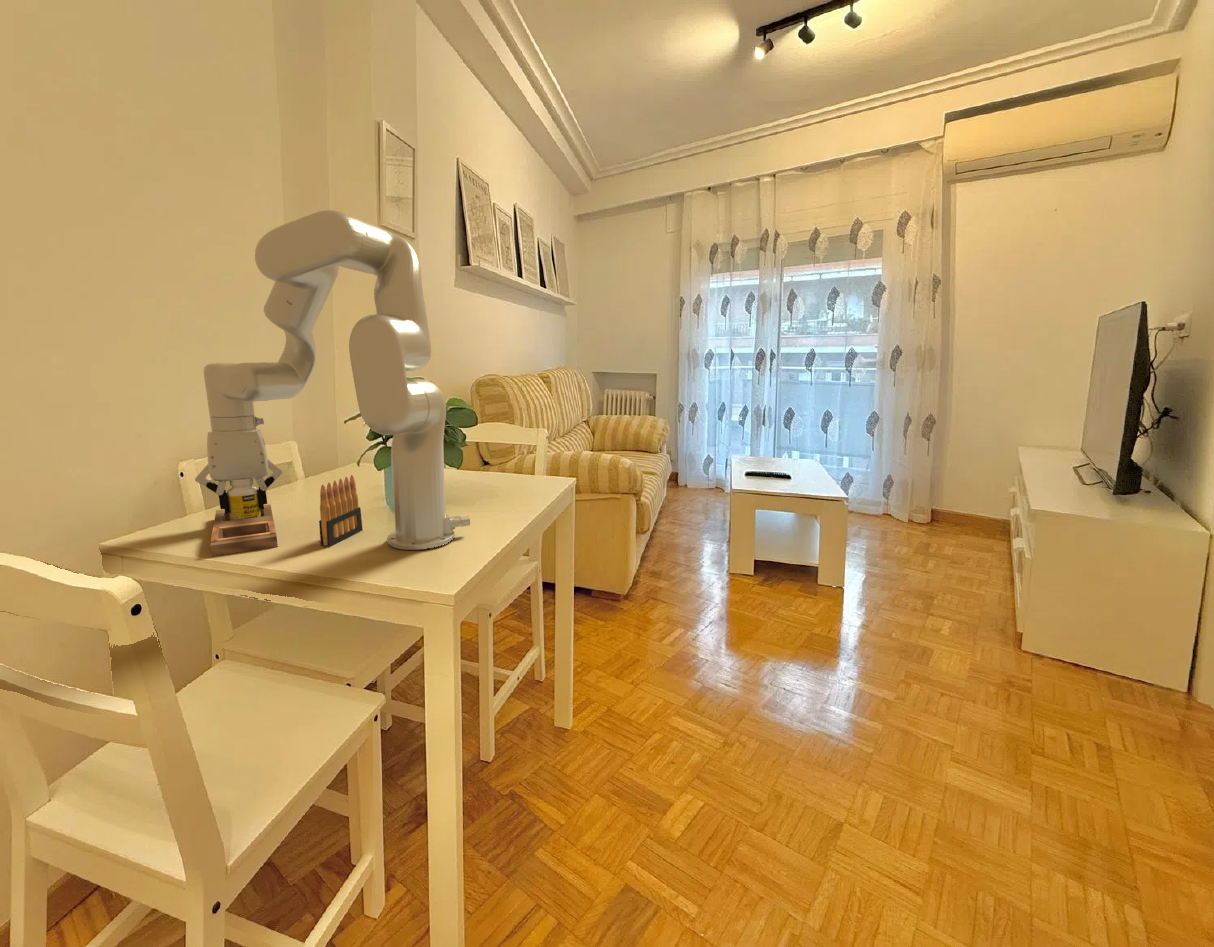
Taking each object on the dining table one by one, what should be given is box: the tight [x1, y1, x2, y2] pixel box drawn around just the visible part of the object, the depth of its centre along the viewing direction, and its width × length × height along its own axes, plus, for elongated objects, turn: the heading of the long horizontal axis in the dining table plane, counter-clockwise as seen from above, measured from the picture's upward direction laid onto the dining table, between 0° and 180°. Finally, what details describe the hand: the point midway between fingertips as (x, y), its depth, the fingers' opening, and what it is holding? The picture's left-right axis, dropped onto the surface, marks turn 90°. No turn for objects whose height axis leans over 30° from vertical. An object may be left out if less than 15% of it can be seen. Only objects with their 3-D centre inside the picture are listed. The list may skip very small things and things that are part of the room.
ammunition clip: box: [318, 474, 363, 548], centre depth 103 cm, size 11×2×12 cm, turn 172°
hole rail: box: [209, 504, 279, 557], centre depth 106 cm, size 10×26×2 cm, turn 34°
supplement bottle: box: [226, 478, 261, 520], centre depth 111 cm, size 5×5×10 cm
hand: (244, 509), depth 111 cm, fingers closed on supplement bottle, 5 cm apart
